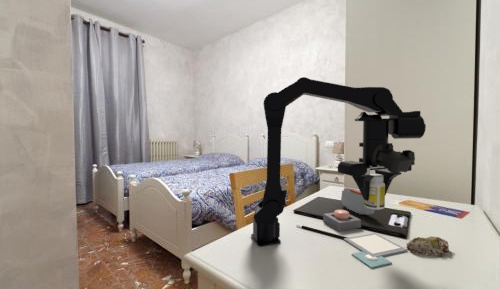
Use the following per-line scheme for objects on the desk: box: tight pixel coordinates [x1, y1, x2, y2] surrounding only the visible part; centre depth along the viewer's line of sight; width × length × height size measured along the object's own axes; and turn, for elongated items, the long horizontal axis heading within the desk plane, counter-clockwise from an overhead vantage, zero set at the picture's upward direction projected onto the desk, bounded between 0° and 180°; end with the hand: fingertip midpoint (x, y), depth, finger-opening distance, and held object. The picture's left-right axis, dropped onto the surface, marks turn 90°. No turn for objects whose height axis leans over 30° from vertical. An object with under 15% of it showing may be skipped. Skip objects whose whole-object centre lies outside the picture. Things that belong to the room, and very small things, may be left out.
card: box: [351, 251, 393, 269], centre depth 57 cm, size 6×6×1 cm
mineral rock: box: [406, 236, 450, 257], centre depth 62 cm, size 11×4×8 cm
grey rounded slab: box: [340, 187, 375, 215], centre depth 89 cm, size 14×3×8 cm, turn 20°
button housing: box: [322, 212, 362, 232], centre depth 77 cm, size 8×8×2 cm
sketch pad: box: [343, 232, 408, 257], centre depth 64 cm, size 11×10×1 cm
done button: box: [333, 209, 350, 221], centre depth 77 cm, size 4×4×2 cm
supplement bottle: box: [364, 173, 386, 211], centre depth 62 cm, size 5×5×8 cm
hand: (374, 199), depth 63 cm, fingers closed on supplement bottle, 5 cm apart
